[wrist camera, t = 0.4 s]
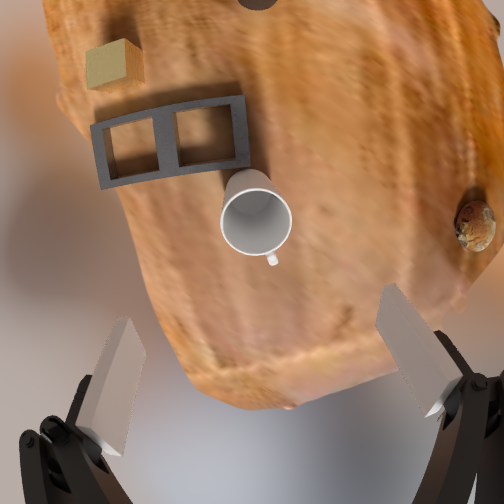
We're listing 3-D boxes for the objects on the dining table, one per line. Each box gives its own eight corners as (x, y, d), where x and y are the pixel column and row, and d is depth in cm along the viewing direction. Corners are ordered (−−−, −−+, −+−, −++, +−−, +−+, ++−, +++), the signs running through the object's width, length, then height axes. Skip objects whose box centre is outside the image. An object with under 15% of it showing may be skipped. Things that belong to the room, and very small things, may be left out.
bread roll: (461, 238, 47) (490, 254, 41) (446, 246, 42) (480, 264, 36) (472, 195, 43) (503, 209, 36) (460, 195, 38) (496, 211, 32)
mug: (215, 177, 35) (208, 204, 25) (263, 158, 35) (277, 176, 24) (244, 241, 40) (249, 289, 29) (288, 224, 39) (309, 267, 29)
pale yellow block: (108, 61, 26) (85, 51, 20) (142, 50, 27) (124, 37, 20) (111, 92, 29) (87, 89, 22) (144, 83, 29) (126, 76, 23)
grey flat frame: (98, 124, 30) (89, 125, 28) (243, 96, 31) (244, 94, 29) (108, 185, 34) (101, 190, 32) (249, 163, 35) (251, 166, 33)
